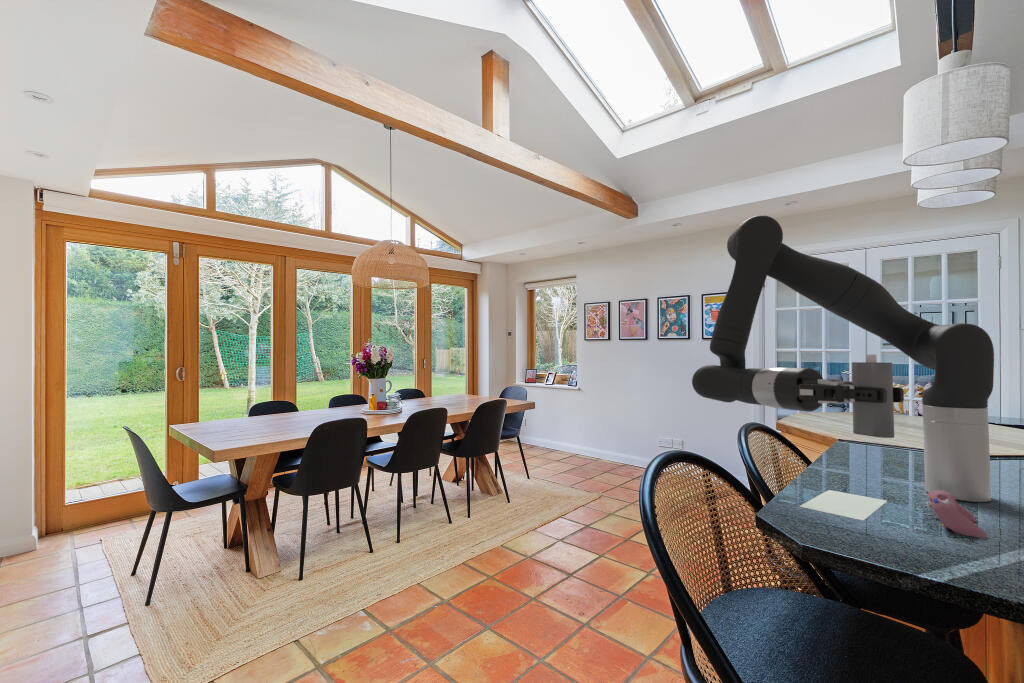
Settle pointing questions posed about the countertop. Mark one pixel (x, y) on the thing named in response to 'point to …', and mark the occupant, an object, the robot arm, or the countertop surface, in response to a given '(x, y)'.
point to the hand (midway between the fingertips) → (893, 395)
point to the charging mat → (844, 504)
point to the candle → (867, 414)
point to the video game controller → (953, 514)
